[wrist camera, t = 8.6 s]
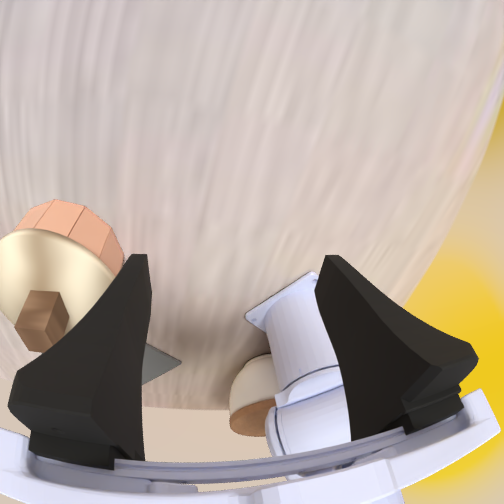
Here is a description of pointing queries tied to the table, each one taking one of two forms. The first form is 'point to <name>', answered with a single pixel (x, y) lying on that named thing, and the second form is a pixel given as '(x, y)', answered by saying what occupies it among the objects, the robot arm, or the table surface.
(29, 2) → the table surface
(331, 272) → the robot arm
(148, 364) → the mat
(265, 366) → the lidded jar
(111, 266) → the bowl
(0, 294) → the lid
